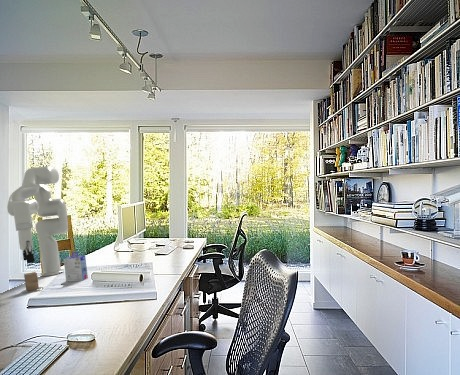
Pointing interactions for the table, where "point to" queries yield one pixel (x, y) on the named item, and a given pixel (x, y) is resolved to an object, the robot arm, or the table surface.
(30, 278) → the walnut block
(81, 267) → the ink cartridge box
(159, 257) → the table surface
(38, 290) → the slate coaster
